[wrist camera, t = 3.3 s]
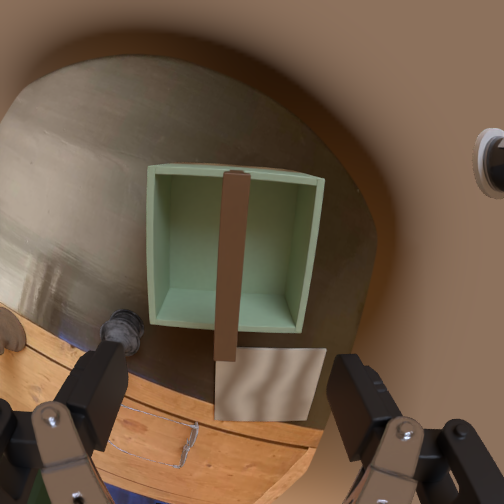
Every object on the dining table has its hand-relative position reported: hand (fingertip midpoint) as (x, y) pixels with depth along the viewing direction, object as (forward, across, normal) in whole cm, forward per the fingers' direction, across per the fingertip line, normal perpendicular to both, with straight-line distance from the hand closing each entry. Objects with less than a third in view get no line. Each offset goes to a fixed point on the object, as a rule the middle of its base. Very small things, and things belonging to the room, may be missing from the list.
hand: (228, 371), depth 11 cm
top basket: (+20, 0, 0) cm, 20 cm away
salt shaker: (+27, +14, +16) cm, 35 cm away
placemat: (+27, -7, +26) cm, 38 cm away
